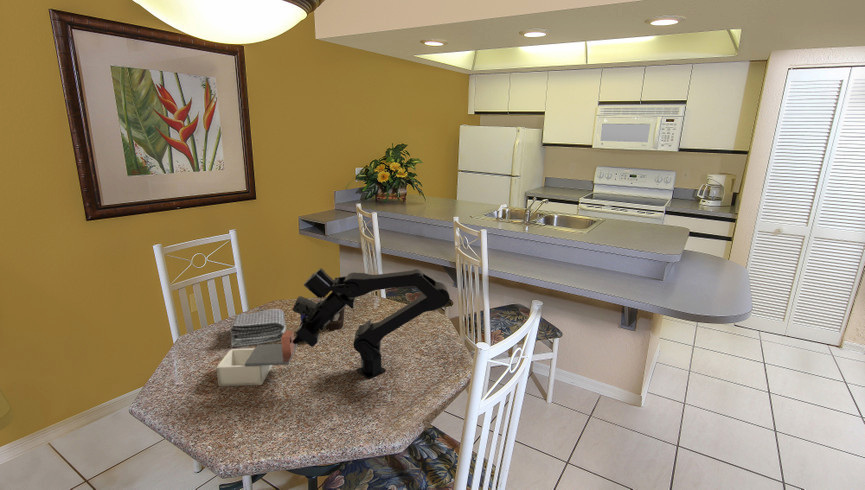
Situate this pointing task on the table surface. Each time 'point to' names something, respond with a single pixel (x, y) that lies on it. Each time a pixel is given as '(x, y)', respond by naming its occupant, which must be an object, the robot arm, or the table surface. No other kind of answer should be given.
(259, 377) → the cream open box
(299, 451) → the table surface
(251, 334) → the towel
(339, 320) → the coffee mug
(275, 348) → the lid
